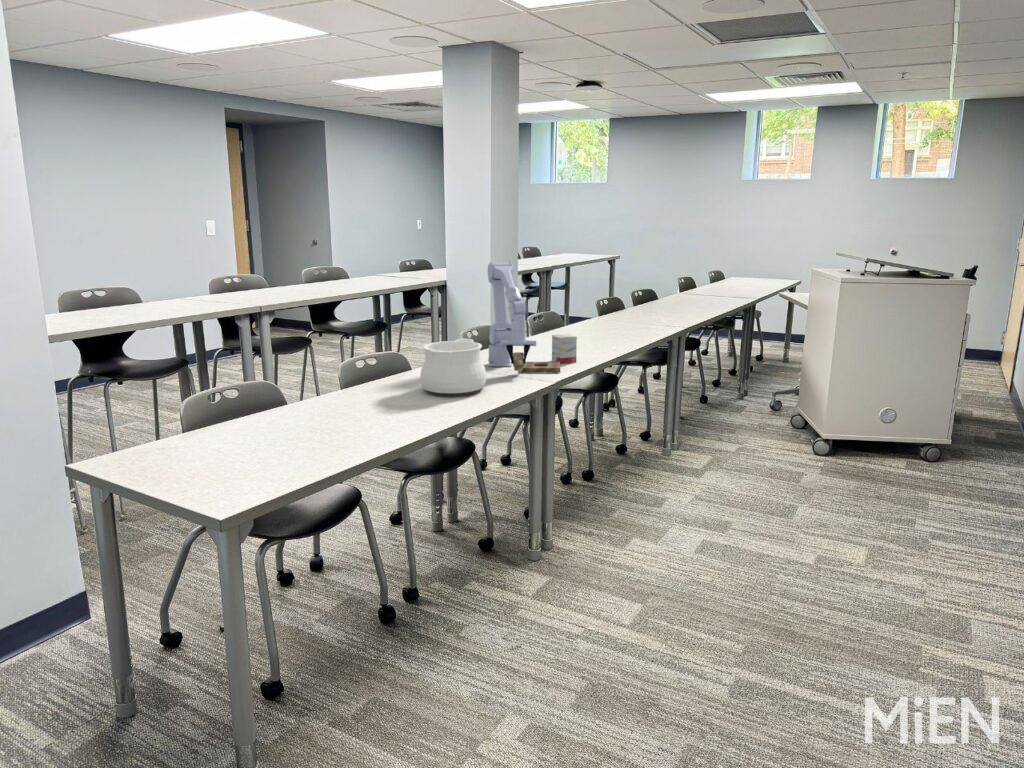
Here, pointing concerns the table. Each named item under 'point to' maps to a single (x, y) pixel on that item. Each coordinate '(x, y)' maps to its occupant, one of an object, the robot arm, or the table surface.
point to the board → (541, 367)
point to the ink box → (564, 348)
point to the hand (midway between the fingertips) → (518, 363)
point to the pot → (453, 368)
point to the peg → (518, 361)
